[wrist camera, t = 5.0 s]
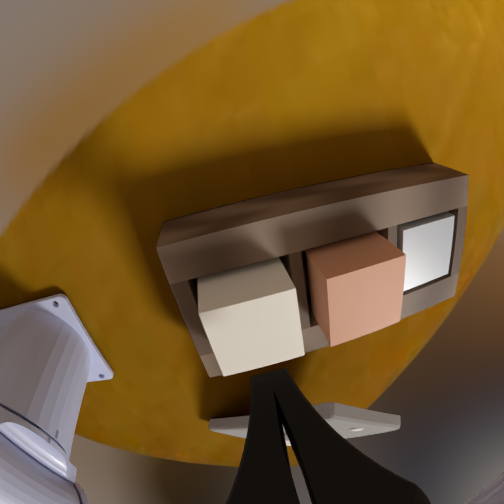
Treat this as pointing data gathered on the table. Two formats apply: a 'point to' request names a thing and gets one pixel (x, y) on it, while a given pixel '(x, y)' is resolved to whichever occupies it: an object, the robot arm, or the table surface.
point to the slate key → (426, 248)
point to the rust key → (356, 286)
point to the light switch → (335, 414)
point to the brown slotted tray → (310, 237)
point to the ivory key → (251, 316)
